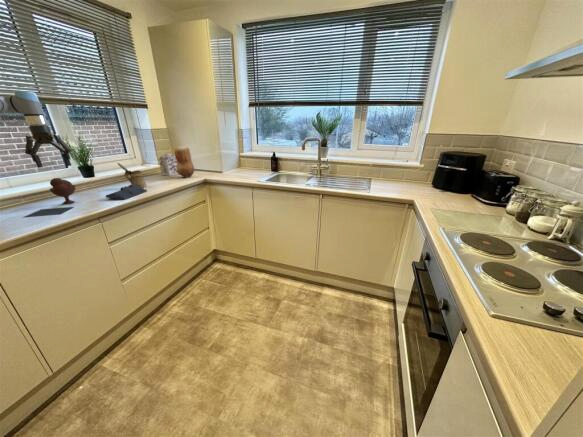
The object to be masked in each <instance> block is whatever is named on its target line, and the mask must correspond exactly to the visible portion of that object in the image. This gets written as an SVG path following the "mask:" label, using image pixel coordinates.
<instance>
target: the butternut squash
mask: <svg viewBox="0 0 583 437" xmlns="http://www.w3.org/2000/svg"><path fill="white" fill-rule="evenodd" d="M173 151H174V155H175V157H176V160H177V172H178V175H179V176H181V177H183V178H190V177H192V176H193V175H194V173H195V166H194V164H193V161H192V155H191V152H190V148H189V147H188V146H187V145H181V146H177V147H175V148H174V150H173Z"/></svg>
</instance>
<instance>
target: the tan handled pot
mask: <svg viewBox="0 0 583 437" xmlns="http://www.w3.org/2000/svg"><path fill="white" fill-rule="evenodd" d="M116 164H117V165H118V166H119V167H120V168H121V169H122V170H123V171H124V177H125V179H127V180H128V182H130V185H131V184H135V185H140V186H142V188H143V189H144V188H146V187H147V183H146V181H145V179H144V176H143V173H142V171H141V170H133V171H131V170H129V169H128V168H126V167H125V166H124V165H123V164H122V163H119V162H117V163H116Z"/></svg>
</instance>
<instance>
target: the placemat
mask: <svg viewBox="0 0 583 437" xmlns="http://www.w3.org/2000/svg"><path fill="white" fill-rule="evenodd" d="M73 208H75V206H65V207H54V208H53V207H52V208H41V209H39V210H36V211H33V212H32V213H30V214H27V215H25V216H23V217H22V219H23V218H36V217H49V216H60V215H63V214H64V213H66V212H68V211H70V210H72V209H73Z"/></svg>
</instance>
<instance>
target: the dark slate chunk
mask: <svg viewBox="0 0 583 437" xmlns="http://www.w3.org/2000/svg"><path fill="white" fill-rule="evenodd" d="M147 191H148V190H147V188H144V187H143V188H142V186H140V185H135V184H131V183H130V184H129V185H127V186H126V185H125V186H122V187H120V190H116V191H114V192H111V193H108V194H106V195H105V198H106V199H107V198H108V199H116V200H127V199H131V198H134V197H136V196H139V195H142V194H143V193H147Z"/></svg>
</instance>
